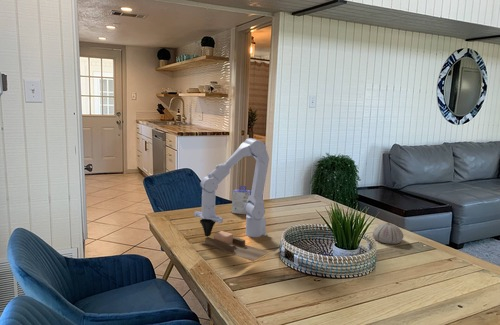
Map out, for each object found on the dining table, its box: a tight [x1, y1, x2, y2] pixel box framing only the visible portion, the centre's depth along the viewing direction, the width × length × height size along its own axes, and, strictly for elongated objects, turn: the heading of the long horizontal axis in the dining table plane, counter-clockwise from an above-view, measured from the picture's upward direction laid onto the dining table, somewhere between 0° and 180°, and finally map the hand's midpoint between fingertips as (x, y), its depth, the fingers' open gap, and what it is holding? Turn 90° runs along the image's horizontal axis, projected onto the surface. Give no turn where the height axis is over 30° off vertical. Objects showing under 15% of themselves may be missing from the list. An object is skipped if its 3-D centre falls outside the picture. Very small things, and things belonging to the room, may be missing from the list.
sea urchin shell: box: [372, 222, 404, 245], centre depth 176 cm, size 13×14×8 cm
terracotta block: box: [213, 230, 234, 245], centre depth 162 cm, size 5×6×4 cm
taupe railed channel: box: [202, 236, 269, 264], centre depth 159 cm, size 14×26×4 cm, turn 55°
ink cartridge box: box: [231, 185, 252, 215], centre depth 208 cm, size 10×6×14 cm, turn 78°
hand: (207, 235), depth 167 cm, fingers closed
